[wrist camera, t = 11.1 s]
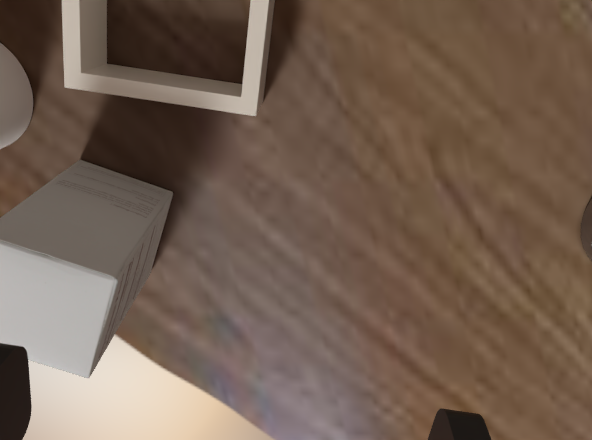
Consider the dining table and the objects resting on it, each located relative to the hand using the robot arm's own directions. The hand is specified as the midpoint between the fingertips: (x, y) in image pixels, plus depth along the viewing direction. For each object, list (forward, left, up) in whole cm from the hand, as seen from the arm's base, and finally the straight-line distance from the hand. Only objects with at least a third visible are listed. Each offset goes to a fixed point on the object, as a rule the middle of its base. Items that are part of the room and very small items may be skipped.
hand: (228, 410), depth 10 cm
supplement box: (+12, +10, -28) cm, 32 cm away
